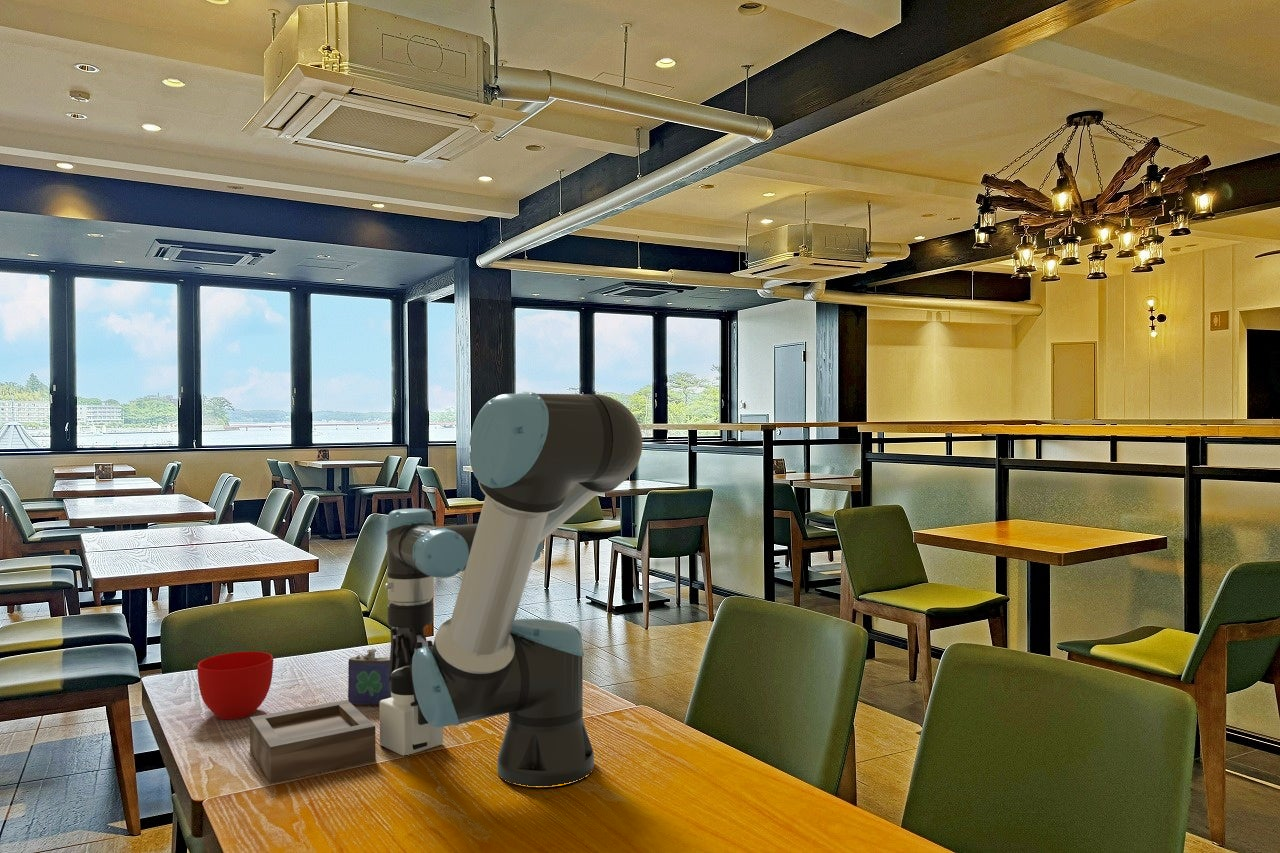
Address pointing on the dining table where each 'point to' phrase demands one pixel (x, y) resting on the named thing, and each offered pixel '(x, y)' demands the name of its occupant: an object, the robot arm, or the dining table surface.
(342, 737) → the thick-rimmed brown tray
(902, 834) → the dining table surface
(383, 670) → the flask
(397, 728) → the container
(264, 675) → the ceramic cup
